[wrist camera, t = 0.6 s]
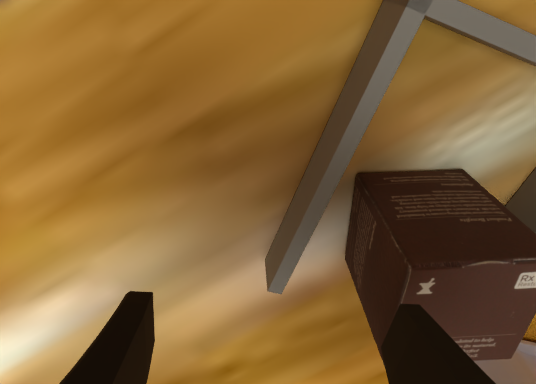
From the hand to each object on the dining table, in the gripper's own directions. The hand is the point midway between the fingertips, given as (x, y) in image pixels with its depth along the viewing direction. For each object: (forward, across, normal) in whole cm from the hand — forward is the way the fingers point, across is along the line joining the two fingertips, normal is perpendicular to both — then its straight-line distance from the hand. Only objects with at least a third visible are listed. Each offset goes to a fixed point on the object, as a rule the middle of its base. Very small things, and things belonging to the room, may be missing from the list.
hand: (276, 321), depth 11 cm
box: (+10, -8, +2) cm, 13 cm away
